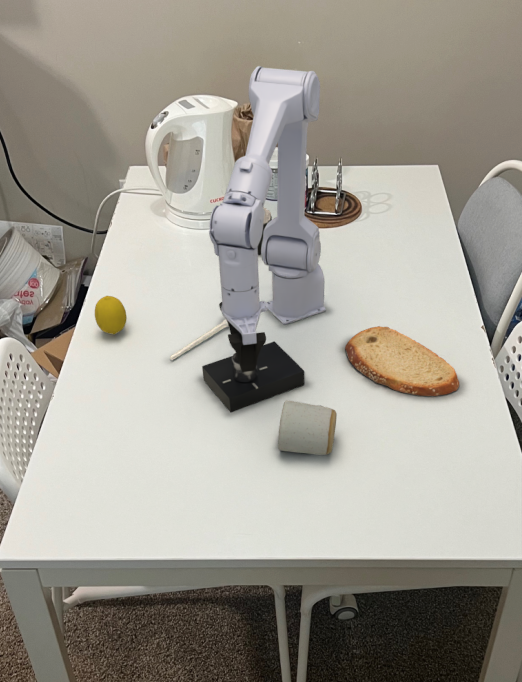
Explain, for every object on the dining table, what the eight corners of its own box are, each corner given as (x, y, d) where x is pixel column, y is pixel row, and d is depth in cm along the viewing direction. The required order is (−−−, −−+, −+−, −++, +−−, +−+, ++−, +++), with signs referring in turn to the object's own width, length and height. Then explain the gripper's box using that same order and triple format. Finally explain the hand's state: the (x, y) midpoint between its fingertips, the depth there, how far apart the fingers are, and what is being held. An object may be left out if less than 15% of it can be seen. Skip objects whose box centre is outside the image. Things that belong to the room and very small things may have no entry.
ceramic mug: (331, 466, 111) (333, 426, 106) (277, 460, 112) (276, 421, 107) (338, 420, 119) (340, 382, 114) (287, 416, 120) (287, 377, 115)
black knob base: (274, 354, 132) (274, 340, 130) (304, 385, 126) (304, 370, 124) (203, 380, 127) (201, 365, 125) (230, 413, 120) (229, 398, 118)
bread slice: (463, 395, 123) (466, 377, 121) (355, 400, 122) (356, 382, 120) (439, 334, 137) (442, 316, 134) (342, 338, 136) (343, 321, 133)
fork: (164, 357, 132) (163, 349, 130) (242, 310, 143) (241, 301, 142) (177, 364, 130) (176, 356, 129) (254, 316, 141) (254, 307, 140)
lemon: (123, 344, 135) (115, 306, 130) (94, 340, 136) (85, 302, 130) (133, 327, 139) (127, 289, 134) (105, 324, 140) (98, 286, 134)
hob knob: (231, 369, 124) (230, 350, 121) (255, 366, 125) (254, 347, 122) (235, 384, 121) (233, 364, 118) (259, 380, 122) (258, 361, 119)
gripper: (275, 304, 107) (277, 379, 116) (257, 255, 117) (260, 328, 126) (227, 310, 106) (232, 385, 115) (212, 260, 116) (218, 333, 125)
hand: (244, 356), depth 120 cm, fingers open, 7 cm apart
